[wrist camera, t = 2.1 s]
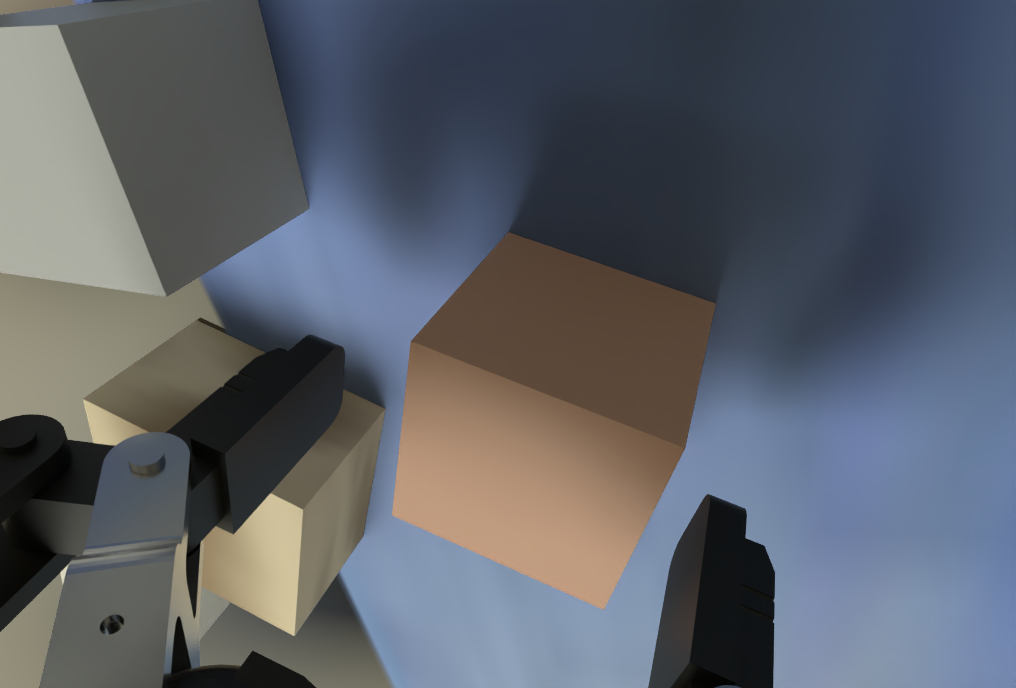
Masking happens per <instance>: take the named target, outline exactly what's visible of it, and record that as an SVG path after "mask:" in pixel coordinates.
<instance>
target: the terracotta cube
mask: <svg viewBox="0 0 1016 688" xmlns="http://www.w3.org/2000/svg"><path fill="white" fill-rule="evenodd" d="M715 306H716V303H713V302H710V301H707V300H704V299H701V298H698V297H695V296H693V295H690V294H687V293H684V292H681V291H678V290H675V289H672V288H669V287H666V286H664V285H661V284H658V283H655V282H652V281H649V280H646V279H643V278H640V277H637V276H634V275H632V274H629V273H626V272H623V271H620V270H617V269H614V268H611V267H608V266H605V265H603V264H600V263H597V262H594V261H591V260H588V259H585V258H582V257H579V256H576V255H573V254H571V253H568V252H565V251H562V250H559V249H556V248H553V247H550V246H547V245H544V244H542V243H539V242H536V241H533V240H530V239H527V238H524V237H521V236H518V235H515V234H512V233H510V232H508V233H507V234H506V235H505V236H504V238H503V239H502V240H501V241H500V242H499V243H498V244H497V245H496V247H495V248H494V249H493V250H492V251H491V252H490V253H489V254H488V256H487V257H486V258H485V259H484V260H483V261H482V262H481V263H480V264H479V266H478V267H477V268H476V269H475V270H474V271H473V272H472V273H471V275H470V276H469V277H468V278H467V279H466V280H465V281H464V282H463V284H462V285H461V286H460V287H459V288H458V289H457V290H456V291H455V292H454V294H453V295H452V296H451V297H450V298H449V299H448V300H447V301H446V303H445V304H444V305H443V306H442V307H441V308H440V309H439V310H438V312H437V313H436V314H435V315H434V316H433V317H432V318H431V319H430V320H429V322H428V323H427V324H426V325H425V326H424V327H423V328H422V329H421V331H420V332H419V333H418V334H417V335H416V336H415V337H414V338H413V339H412V341H411V345H410V354H409V363H408V372H407V382H406V391H405V400H404V410H403V419H402V428H401V437H400V447H399V456H398V465H397V474H396V484H395V493H394V502H393V512H392V515H393V516H395V517H397V518H399V519H402V520H404V521H406V522H408V523H411V524H413V525H415V526H417V527H420V528H422V529H424V530H426V531H429V532H431V533H433V534H435V535H437V536H440V537H442V538H444V539H446V540H449V541H451V542H453V543H455V544H458V545H460V546H462V547H464V548H467V549H469V550H471V551H473V552H476V553H478V554H480V555H482V556H485V557H487V558H489V559H491V560H493V561H496V562H498V563H500V564H502V565H505V566H507V567H509V568H511V569H514V570H516V571H518V572H520V573H523V574H525V575H527V576H529V577H532V578H534V579H536V580H538V581H541V582H543V583H545V584H547V585H549V586H552V587H554V588H556V589H558V590H561V591H563V592H565V593H567V594H570V595H572V596H574V597H576V598H579V599H581V600H583V601H585V602H588V603H590V604H592V605H594V606H597V607H599V608H601V609H603V610H604V608H605V606H606V604H607V602H608V600H609V598H610V596H611V594H612V592H613V590H614V588H615V586H616V584H617V582H618V580H619V578H620V576H621V574H622V572H623V570H624V568H625V567H626V565H627V563H628V561H629V559H630V557H631V555H632V553H633V551H634V549H635V547H636V545H637V543H638V541H639V539H640V537H641V535H642V533H643V531H644V529H645V527H646V525H647V523H648V521H649V519H650V517H651V515H652V513H653V511H654V509H655V507H656V505H657V503H658V501H659V499H660V497H661V495H662V493H663V491H664V489H665V487H666V485H667V483H668V481H669V479H670V477H671V475H672V473H673V471H674V469H675V467H676V465H677V463H678V461H679V459H680V457H681V455H682V453H683V451H684V449H685V447H686V442H687V437H688V432H689V428H690V423H691V418H692V414H693V409H694V404H695V400H696V395H697V390H698V385H699V381H700V376H701V371H702V367H703V362H704V357H705V353H706V348H707V343H708V338H709V334H710V329H711V324H712V320H713V315H714V310H715Z"/></svg>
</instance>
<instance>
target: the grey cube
mask: <svg viewBox="0 0 1016 688" xmlns="http://www.w3.org/2000/svg"><path fill="white" fill-rule="evenodd" d="M308 209H309V206H308V202H307V198H306V193H305V189H304V185H303V181H302V177H301V173H300V169H299V165H298V161H297V157H296V153H295V149H294V145H293V141H292V137H291V133H290V129H289V124H288V120H287V116H286V112H285V108H284V104H283V100H282V96H281V92H280V88H279V84H278V80H277V76H276V72H275V68H274V64H273V60H272V56H271V51H270V47H269V43H268V39H267V35H266V31H265V27H264V23H263V19H262V15H261V11H260V7H259V3H258V0H126V1H108V2H91V3H84V4H77V5H70V6H62V7H55V8H47V9H40V10H33V11H25V12H18V13H10V14H3V15H0V272H1V273H7V274H14V275H21V276H28V277H35V278H42V279H48V280H55V281H62V282H69V283H76V284H83V285H89V286H96V287H103V288H110V289H118V290H123V291H131V292H137V293H144V294H151V295H158V296H164V297H167V296H169V295H170V294H172V293H174V292H175V291H177V290H179V289H180V288H182V287H183V286H185V285H186V284H188V283H190V282H192V281H193V280H195V279H196V278H198V277H200V276H201V275H203V274H204V273H206V272H208V271H209V270H211V269H213V268H214V267H216V266H217V265H219V264H221V263H222V262H224V261H226V260H227V259H229V258H230V257H232V256H234V255H235V254H237V253H239V252H240V251H242V250H243V249H245V248H247V247H248V246H250V245H252V244H253V243H255V242H256V241H258V240H260V239H261V238H263V237H265V236H266V235H268V234H269V233H271V232H273V231H274V230H276V229H278V228H279V227H281V226H282V225H284V224H286V223H287V222H289V221H291V220H292V219H294V218H295V217H297V216H299V215H300V214H302V213H304V212H305V211H307V210H308Z"/></svg>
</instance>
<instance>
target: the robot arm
mask: <svg viewBox="0 0 1016 688" xmlns="http://www.w3.org/2000/svg"><path fill="white" fill-rule="evenodd" d="M344 363H345V351H344V348H343V347H341V346H339V345H336V344H334V343H331V342H329V341H326V340H324V339H321V338H319V337H316V336H314V335H308V336H306V337H305V338H303V339H302V340H301V341H300V342H299V343H298V344H296V345H295V346H294V347H293V348H292V349H291V350H290V351H287V350H284V349H282V348H278V349H275V350H273V351H270V352H268V353H265V354H263V355H260V356H258V357H255V358H254V359H253V360H252V361H251V362H249V363H248V364H247V365H246V366H245V367H243V368H242V369H241V370H240V371H239V372H238V374H237V375H234V376H233V377H232V378H230V379H229V380H228V381H227V382H226V383H224V386H223V387H220V388H218V389H217V390H216V391H215V392H214V393H212V394H211V395H210V396H209V397H208V398H206V399H205V400H204V401H203V402H202V403H200V404H199V405H198V406H197V407H196V408H194V409H193V410H192V411H191V412H190V413H188V414H187V415H186V416H185V417H184V418H182V419H181V420H180V421H179V422H178V423H176V424H175V425H174V426H173V427H172V428H170V429H169V430H168V431H166V432H165V433H164V432H148V433H142V434H138V435H135V436H132V437H129V438H127V439H125V440H123V441H122V442H120V443H118V444H117V445H116V446H115V445H105V444H97V443H88V442H81V441H73V440H68V439H67V437H66V433H65V430H64V427H63V426H62V425H61V423H60V422H58V421H57V420H55V419H53V418H51V417H48V416H44V415H21V416H15V417H11V418H8V419H5V420H2V421H0V632H1V631H2V629H4V628H5V627H6V626H7V625H8V624H9V623H10V622H11V621H12V620H13V619H14V618H15V617H16V616H17V615H18V614H19V613H20V612H21V611H22V610H23V609H24V608H25V607H26V606H27V605H28V604H29V603H30V602H31V601H32V600H33V599H34V598H35V597H36V596H37V595H38V594H39V593H40V592H41V591H42V590H43V589H44V588H45V587H46V586H47V585H48V584H49V583H50V582H51V581H52V580H53V579H54V578H55V577H56V576H57V575H58V574H59V573H60V572H61V571H62V570H63V569H64V568H65V567H66V566H67V565H68V564H69V565H68V568H67V571H66V575H65V579H64V583H63V587H62V592H61V596H60V600H59V605H58V609H57V613H56V618H55V622H54V626H53V631H52V635H51V639H50V643H49V648H48V652H47V657H46V661H45V665H44V669H43V674H42V678H41V683H40V686H39V688H316V687H315V686H314V685H313V684H312V683H311V682H309V681H308V680H307V679H306V678H305V677H304V676H302V675H300V674H298V673H296V672H294V671H292V670H290V669H288V668H286V667H284V666H282V665H280V664H278V663H276V662H274V661H272V660H270V659H268V658H266V657H264V656H262V655H260V654H258V653H256V652H254V651H252V652H251V654H250V655H249V656H248V658H247V659H246V661H245V662H244V663H243V664H242V666H238V665H209V666H202V667H200V647H199V618H200V601H201V584H202V568H203V551H204V541H203V539H204V538H205V537H206V536H207V535H208V534H209V533H210V532H211V530H212V529H213V528H214V527H215V526H216V527H219V528H221V529H223V530H225V531H227V532H229V533H231V534H235V533H236V531H237V530H238V529H239V528H240V527H241V526H242V525H243V524H244V522H245V521H246V520H247V519H248V518H249V517H250V516H251V515H252V513H253V512H254V511H255V510H256V509H257V508H258V507H259V506H260V504H261V503H262V502H263V501H264V500H265V499H266V498H267V497H268V496H269V494H270V493H271V492H272V491H273V490H274V489H275V488H276V487H277V485H278V484H279V483H280V482H281V481H282V480H283V479H284V478H285V476H286V475H287V474H288V473H289V472H290V471H291V470H292V469H293V467H294V466H295V465H296V464H297V463H298V462H299V461H300V460H301V458H302V457H303V456H304V455H305V454H306V453H307V452H308V451H309V449H310V448H311V447H312V446H313V445H314V444H315V443H316V442H317V440H318V439H319V438H320V437H321V436H322V435H323V434H324V433H325V431H326V430H327V429H328V428H329V427H330V426H331V425H332V423H333V422H334V420H335V419H336V417H337V415H338V413H339V410H340V408H341V404H342V400H343V383H344ZM746 519H747V513H746V509H745V508H742V507H739V506H737V505H734V504H732V503H729V502H727V501H724V500H722V499H719V498H717V497H714V496H712V495H709V494H708V495H706V496H705V498H704V499H703V501H702V502H701V504H700V506H699V507H698V509H697V511H696V513H695V514H694V516H693V518H692V519H691V521H690V523H689V525H688V526H687V528H686V530H685V531H684V533H683V535H682V537H681V538H680V540H679V542H678V544H677V547H676V549H675V552H674V555H673V558H672V561H671V565H670V569H669V574H668V580H667V586H666V591H665V597H664V602H663V608H662V614H661V619H660V625H659V631H658V636H657V642H656V648H655V653H654V659H653V665H652V670H651V676H650V682H649V687H648V688H773V664H774V623H773V619H774V602H773V600H774V598H775V571H774V569H773V566H772V564H771V561H770V559H769V556H768V554H767V551H766V549H765V546H763V545H761V544H758V543H756V542H754V541H751V540H749V539H746V538H745V534H746Z"/></svg>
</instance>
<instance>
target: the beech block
mask: <svg viewBox="0 0 1016 688" xmlns="http://www.w3.org/2000/svg"><path fill="white" fill-rule="evenodd" d="M263 354H265V352H263V351H261V350H259V349H257V348H255V347H253V346H250V345H248V344H246V343H244V342H242V341H240V340H238V339H236V338H233V337H231V336H229V335H227V334H226V333H225V330H224V328H222V327H220V326H218V325H215V324H214V323H211V322H209V321H207V320H205V319H203V318H199V319H197V320H196V321H195V322H193V323H192V324H190V325H189V326H187V327H186V328H184V329H183V330H182V331H181V332H179V333H177V334H176V335H174V336H173V337H172V338H170V339H169V340H167V341H166V342H164V343H163V344H161V345H160V346H159V347H157V348H156V349H154V350H153V351H151V352H150V353H148V354H147V355H145V356H144V357H143V358H141V359H140V360H138V361H137V362H135V363H134V364H133V365H131V366H130V367H128V368H127V369H125V370H124V371H122V372H121V373H119V374H118V375H117V376H115V377H114V378H113V379H111V380H109V381H108V382H107V383H105V384H104V385H102V386H101V387H99V388H98V389H97V390H95V391H93V392H92V393H91V394H90V395H88V396H87V397H85V398H83V402H84V406H85V410H86V414H87V418H88V422H89V426H90V430H91V434H92V438H93V443H97V444H105V445H115V446H116V445H117V444H118V443H120V442H122V441H123V440H125V439H127V438H129V437H132V436H135V435H138V434H142V433H148V432H164V433H165V432H166V431H168V430H169V429H170V428H172V427H173V426H174V425H175V424H176V423H178V422H179V421H180V420H181V419H182V418H184V417H185V416H186V415H187V414H188V413H190V412H191V411H192V410H193V409H194V408H196V407H197V406H198V405H199V404H200V403H202V402H203V401H204V400H205V399H206V398H208V397H209V396H210V395H211V394H212V393H214V392H215V391H216V390H217V389H218V388H220V387H223V386H224V383H226V382H227V381H228V380H229V379H230V378H232V377H233V376H234V375H237V374H238V372H239V371H240V370H241V369H242V368H243V367H245V366H246V365H247V364H248V363H249V362H251V361H252V360H253V359H254V358H255V357H258V356H260V355H263ZM384 414H385V408H382V407H380V406H378V405H376V404H374V403H372V402H370V401H368V400H365V399H363V398H361V397H359V396H357V395H355V394H353V393H351V392H348V391H346V390H344V389H343V400H342V404H341V408H340V410H339V413H338V415H337V417H336V419H335V420H334V422H333V423H332V425H331V426H330V427H329V428H328V429H327V430H326V431H325V433H324V434H323V435H322V436H321V437H320V438H319V439H318V440H317V442H316V443H315V444H314V445H313V446H312V447H311V448H310V449H309V451H308V452H307V453H306V454H305V455H304V456H303V457H302V458H301V460H300V461H299V462H298V463H297V464H296V465H295V466H294V467H293V469H292V470H291V471H290V472H289V473H288V474H287V475H286V476H285V478H284V479H283V480H282V481H281V482H280V483H279V484H278V485H277V487H276V488H275V489H274V490H273V491H272V492H271V493H270V494H269V496H268V497H267V498H266V499H265V500H264V501H263V502H262V503H261V504H260V506H259V507H258V508H257V509H256V510H255V511H254V512H253V513H252V515H251V516H250V517H249V518H248V519H247V520H246V521H245V522H244V524H243V525H242V526H241V527H240V528H239V529H238V530H237V531H236V533H235V534H231V533H229V532H227V531H225V530H223V529H221V528H219V527H216V526H215V527H214V528H213V529H212V530H211V532H210V533H209V534H208V535H207V536H206V537H205V538H204V539H203V541H204V551H203V568H202V584H201V587H203V588H205V589H207V590H209V591H211V592H213V593H215V594H216V595H218V596H220V597H222V598H224V599H226V600H228V601H230V602H231V603H233V604H235V605H237V606H239V607H241V608H243V609H244V610H246V611H248V612H250V613H252V614H254V615H256V616H258V617H259V618H261V619H263V620H265V621H267V622H269V623H271V624H273V625H275V626H276V627H278V628H280V629H282V630H284V631H286V632H288V633H290V634H291V635H293V636H295V635H296V633H297V632H298V630H299V629H300V627H301V626H302V625H303V623H304V622H305V620H306V619H307V617H308V616H309V614H310V613H311V611H312V610H313V608H314V607H315V606H316V604H317V603H318V601H319V600H320V598H321V597H322V595H323V594H324V593H325V591H326V590H327V588H328V587H329V585H330V584H331V582H332V581H333V580H334V578H335V577H336V575H337V574H338V572H339V571H340V569H341V568H342V566H343V565H344V564H345V562H346V561H347V559H348V558H349V556H350V555H351V553H352V552H353V550H354V549H355V548H356V546H357V545H358V543H359V542H360V540H361V539H362V537H363V534H364V529H365V523H366V517H367V512H368V506H369V500H370V494H371V489H372V483H373V477H374V472H375V466H376V460H377V454H378V449H379V443H380V437H381V432H382V426H383V420H384Z"/></svg>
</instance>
